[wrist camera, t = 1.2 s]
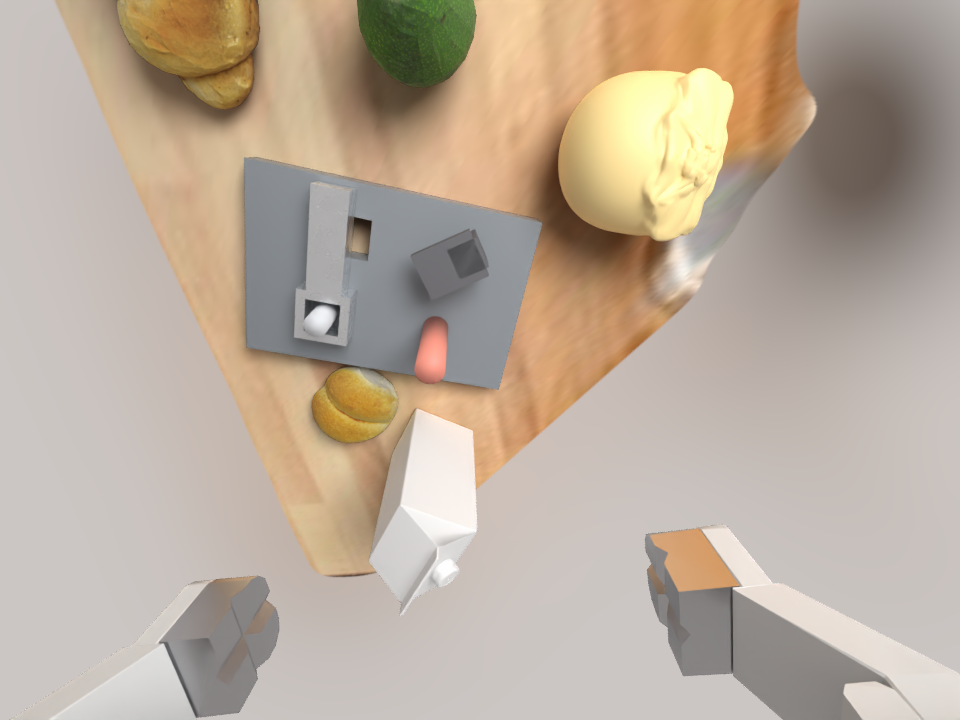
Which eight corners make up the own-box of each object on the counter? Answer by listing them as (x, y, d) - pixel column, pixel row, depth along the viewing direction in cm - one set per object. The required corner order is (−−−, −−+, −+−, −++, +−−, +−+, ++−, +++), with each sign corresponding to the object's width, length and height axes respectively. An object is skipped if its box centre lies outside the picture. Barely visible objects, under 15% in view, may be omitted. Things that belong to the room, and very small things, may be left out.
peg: (425, 314, 42) (416, 353, 34) (450, 318, 42) (447, 359, 34) (421, 337, 43) (412, 381, 35) (445, 341, 43) (442, 386, 35)
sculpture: (665, 229, 42) (727, 253, 32) (540, 218, 41) (565, 240, 31) (701, 88, 37) (788, 67, 27) (560, 73, 36) (598, 45, 26)
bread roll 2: (304, 408, 49) (291, 429, 45) (347, 350, 46) (338, 367, 42) (367, 445, 51) (360, 468, 48) (412, 393, 49) (408, 412, 45)
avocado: (380, -45, 32) (339, -142, 22) (484, -12, 33) (495, -88, 23) (366, 79, 36) (325, 49, 25) (461, 106, 37) (461, 88, 26)
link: (352, 335, 42) (346, 346, 40) (303, 327, 42) (294, 337, 40) (366, 191, 37) (360, 193, 35) (309, 178, 36) (299, 180, 34)
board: (257, 157, 38) (216, 158, 31) (537, 218, 41) (552, 231, 35) (257, 337, 45) (224, 368, 38) (496, 378, 48) (502, 413, 42)
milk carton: (391, 453, 52) (358, 604, 35) (416, 406, 49) (392, 544, 32) (447, 473, 53) (440, 627, 36) (473, 429, 51) (480, 572, 34)
